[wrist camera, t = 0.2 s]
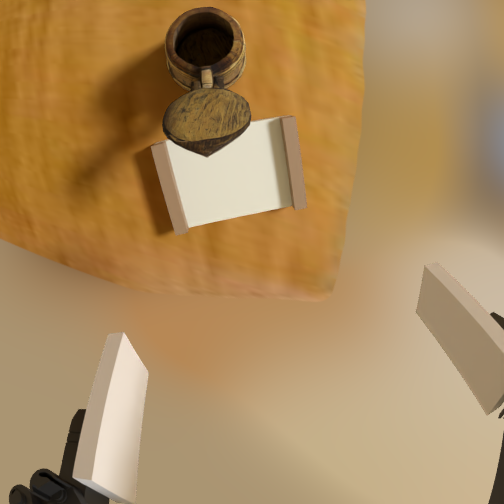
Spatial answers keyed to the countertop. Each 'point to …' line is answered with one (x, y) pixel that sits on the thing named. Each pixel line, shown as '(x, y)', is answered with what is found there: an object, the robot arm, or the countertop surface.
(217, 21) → the wooden mug
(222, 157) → the ledge board
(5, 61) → the countertop surface
